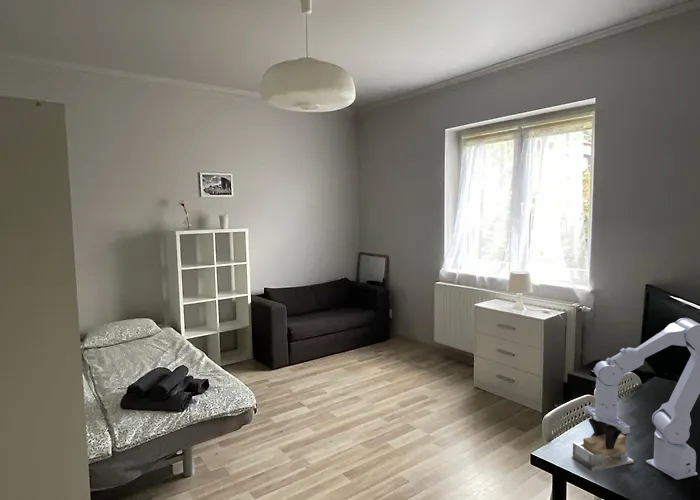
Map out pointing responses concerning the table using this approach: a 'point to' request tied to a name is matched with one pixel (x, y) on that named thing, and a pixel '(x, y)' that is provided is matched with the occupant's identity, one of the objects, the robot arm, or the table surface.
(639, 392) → the table surface
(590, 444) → the oak rail
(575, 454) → the bracket board
